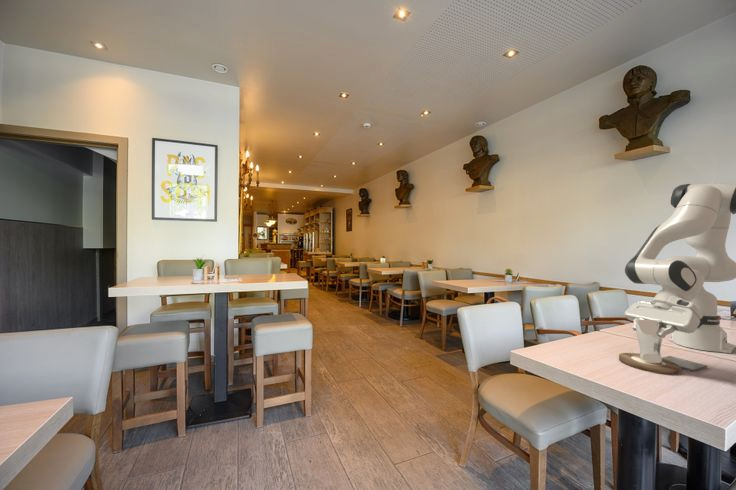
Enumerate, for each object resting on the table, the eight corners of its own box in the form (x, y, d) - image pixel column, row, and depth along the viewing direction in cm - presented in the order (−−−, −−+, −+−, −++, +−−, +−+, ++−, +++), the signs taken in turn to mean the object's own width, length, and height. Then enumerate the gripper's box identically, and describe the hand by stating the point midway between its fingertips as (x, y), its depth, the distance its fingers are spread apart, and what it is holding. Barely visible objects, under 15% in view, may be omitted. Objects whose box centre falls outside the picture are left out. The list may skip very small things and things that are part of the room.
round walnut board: (633, 354, 116) (633, 350, 116) (690, 370, 101) (690, 365, 101) (609, 359, 110) (609, 355, 110) (665, 377, 95) (665, 372, 95)
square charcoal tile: (669, 357, 112) (669, 355, 112) (707, 367, 103) (707, 365, 103) (655, 361, 109) (655, 359, 109) (692, 371, 99) (692, 369, 99)
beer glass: (670, 364, 100) (667, 321, 101) (647, 363, 102) (644, 320, 102) (653, 358, 107) (651, 317, 108) (632, 357, 108) (630, 316, 109)
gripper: (632, 294, 117) (612, 320, 115) (699, 304, 97) (676, 334, 95) (641, 305, 117) (621, 331, 115) (709, 317, 97) (687, 348, 95)
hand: (647, 332), depth 105 cm, fingers closed on beer glass, 6 cm apart
